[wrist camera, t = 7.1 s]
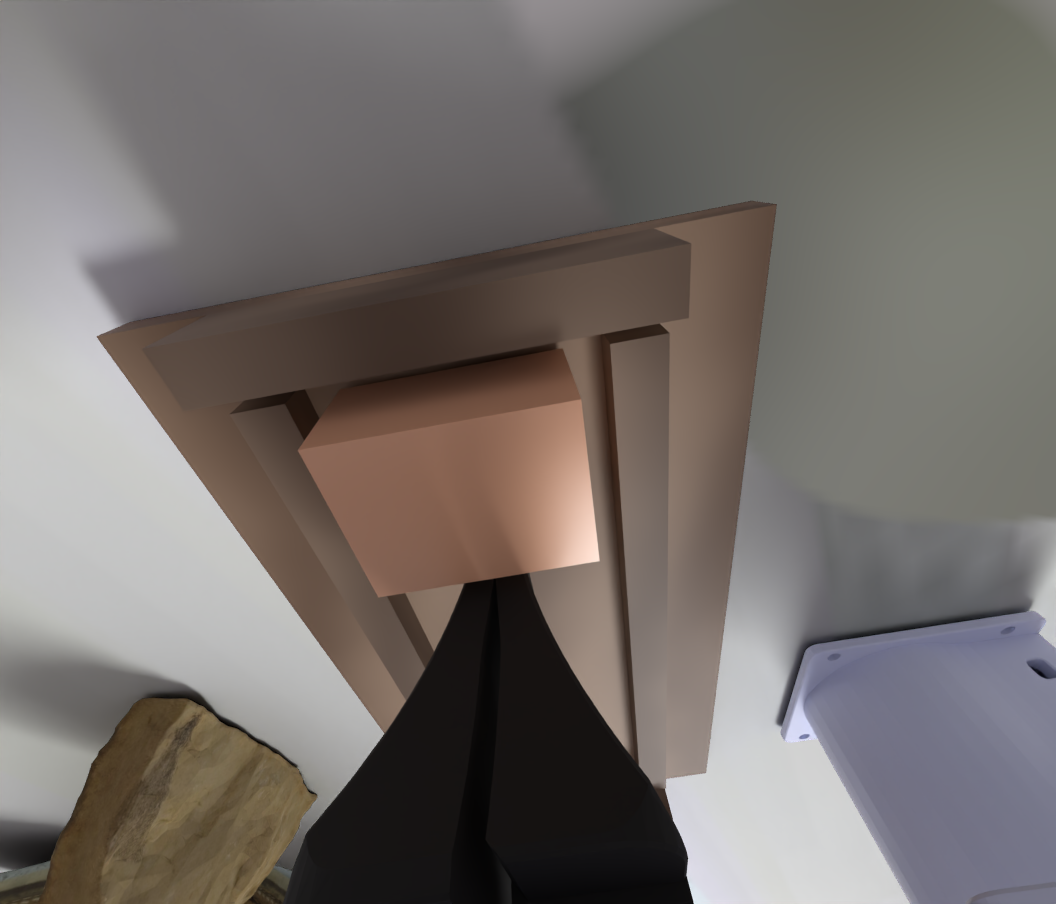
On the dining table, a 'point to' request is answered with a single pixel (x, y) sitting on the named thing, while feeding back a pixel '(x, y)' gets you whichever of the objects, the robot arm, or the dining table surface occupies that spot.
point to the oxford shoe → (15, 894)
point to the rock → (176, 813)
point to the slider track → (610, 428)
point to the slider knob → (459, 473)
